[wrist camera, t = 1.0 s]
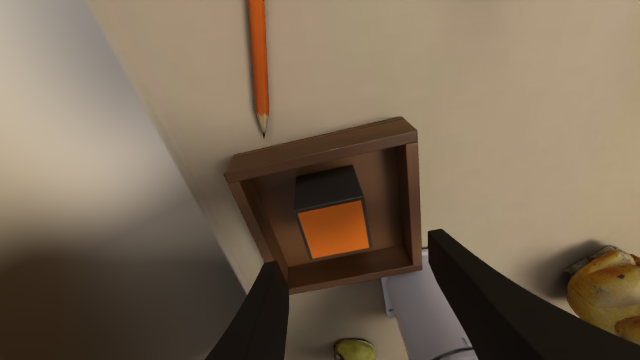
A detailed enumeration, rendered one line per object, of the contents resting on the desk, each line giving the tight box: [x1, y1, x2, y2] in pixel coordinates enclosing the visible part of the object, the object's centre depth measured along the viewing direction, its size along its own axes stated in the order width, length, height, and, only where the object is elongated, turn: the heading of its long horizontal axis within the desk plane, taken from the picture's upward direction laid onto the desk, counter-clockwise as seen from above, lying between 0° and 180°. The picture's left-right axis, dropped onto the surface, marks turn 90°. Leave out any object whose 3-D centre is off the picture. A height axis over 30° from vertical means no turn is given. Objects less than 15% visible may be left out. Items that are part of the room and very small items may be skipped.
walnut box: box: [224, 117, 423, 295], centre depth 21 cm, size 13×13×3 cm
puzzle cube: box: [293, 165, 373, 260], centre depth 19 cm, size 4×4×4 cm
